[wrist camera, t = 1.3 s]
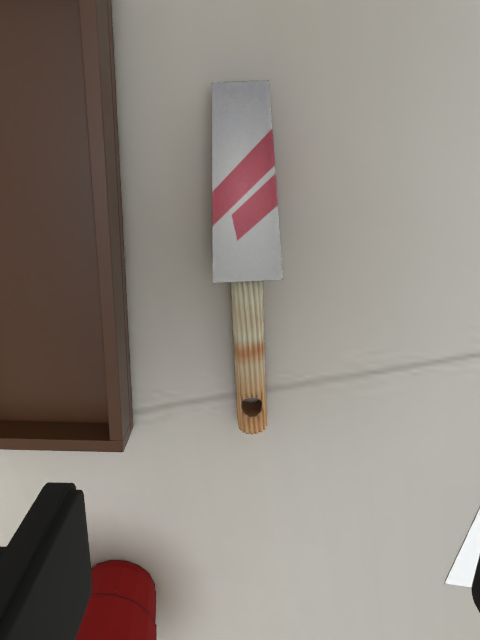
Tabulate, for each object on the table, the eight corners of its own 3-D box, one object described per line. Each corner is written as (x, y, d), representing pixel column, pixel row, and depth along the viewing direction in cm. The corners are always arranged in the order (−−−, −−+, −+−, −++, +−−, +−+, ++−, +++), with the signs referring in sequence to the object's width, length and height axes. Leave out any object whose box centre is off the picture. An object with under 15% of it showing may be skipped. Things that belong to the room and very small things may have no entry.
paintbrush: (283, 74, 20) (282, 438, 27) (277, 83, 23) (278, 413, 30) (199, 77, 20) (220, 440, 27) (203, 85, 23) (221, 415, 30)
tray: (-111, -38, 21) (-160, -67, 19) (109, -28, 21) (92, -56, 19) (-26, 423, 30) (-51, 448, 27) (133, 427, 30) (123, 452, 27)
